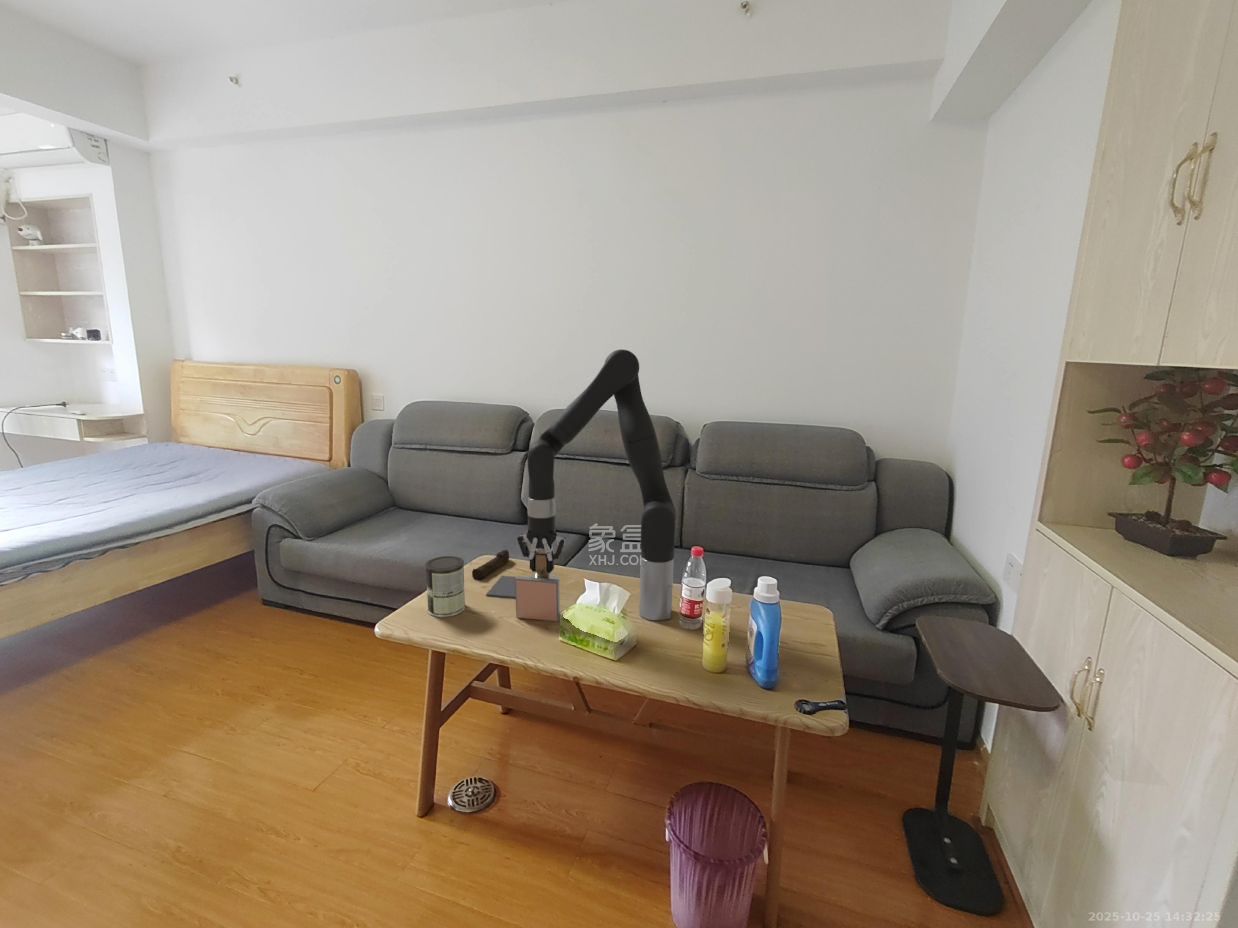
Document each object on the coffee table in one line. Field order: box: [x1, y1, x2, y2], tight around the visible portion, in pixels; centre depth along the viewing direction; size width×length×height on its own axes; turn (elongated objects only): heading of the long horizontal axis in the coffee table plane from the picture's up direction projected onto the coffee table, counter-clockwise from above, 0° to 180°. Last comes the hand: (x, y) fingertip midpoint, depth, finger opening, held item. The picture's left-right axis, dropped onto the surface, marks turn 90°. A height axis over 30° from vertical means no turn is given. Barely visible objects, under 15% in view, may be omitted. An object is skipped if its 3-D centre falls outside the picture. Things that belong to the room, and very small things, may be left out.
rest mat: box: [485, 575, 516, 599], centre depth 173 cm, size 14×14×1 cm
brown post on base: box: [529, 550, 560, 580], centre depth 156 cm, size 8×8×9 cm
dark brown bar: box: [471, 549, 510, 581], centre depth 186 cm, size 19×4×5 cm, turn 156°
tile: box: [515, 575, 561, 622], centre depth 153 cm, size 12×2×12 cm, turn 82°
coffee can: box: [424, 555, 466, 618], centre depth 157 cm, size 10×10×14 cm
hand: (541, 570), depth 156 cm, fingers closed on brown post on base, 4 cm apart
